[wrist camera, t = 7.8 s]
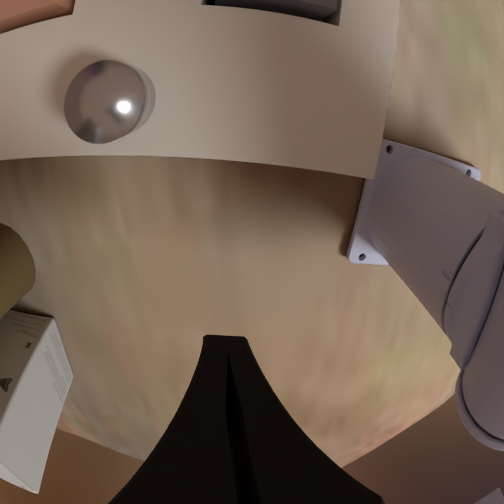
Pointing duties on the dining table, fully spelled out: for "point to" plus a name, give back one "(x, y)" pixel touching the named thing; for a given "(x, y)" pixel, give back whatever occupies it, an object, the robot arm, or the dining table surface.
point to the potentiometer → (108, 101)
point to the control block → (212, 82)
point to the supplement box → (29, 395)
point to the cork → (14, 269)
